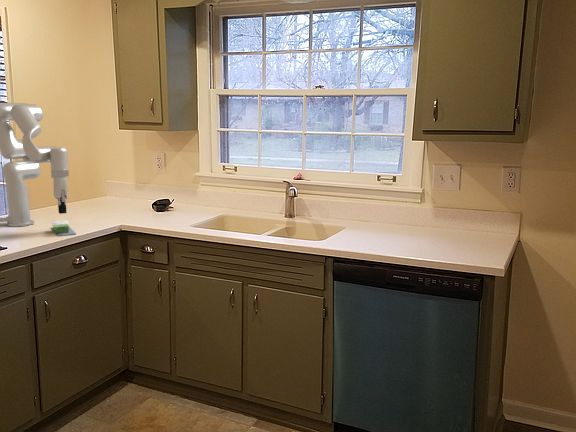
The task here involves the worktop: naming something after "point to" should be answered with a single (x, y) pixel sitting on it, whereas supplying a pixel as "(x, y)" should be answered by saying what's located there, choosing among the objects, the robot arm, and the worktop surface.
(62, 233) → the rubber mat
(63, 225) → the ink box
